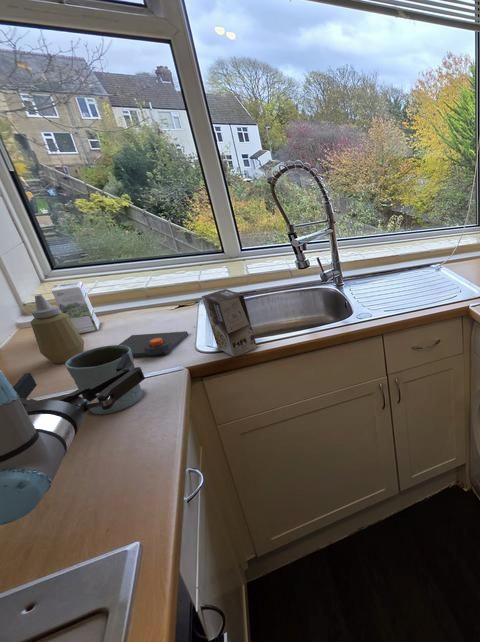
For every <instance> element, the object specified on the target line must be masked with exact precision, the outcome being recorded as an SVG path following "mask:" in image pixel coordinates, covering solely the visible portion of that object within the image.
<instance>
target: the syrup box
mask: <svg viewBox="0 0 480 642" xmlns="http://www.w3.org/2000/svg"><path fill="white" fill-rule="evenodd" d="M51 293H52V295H53V297H54V299H55V302H56V303H57V306H58V308H59V310H60V312H61V313H65V314H67V315H68V317H69V318H70V320H71V322H72V323H73V325H74V326H75V328H76V329H77V331H78V333H79V334H80V335H82V334H86V333H91V332H97V331H99V329H100V321H99V319H98V317H97V316H96V313H95V310H94V308H93V305H92V303H91V301H90V299H89V296H88V294H87V291H86V288H85V286H84V284H83V282H82V281H81V280H80V281H75V282H73V281H72V282H67V283H60V284H54V285H53V286H52V289H51Z"/></svg>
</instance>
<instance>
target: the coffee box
mask: <svg viewBox="0 0 480 642" xmlns="http://www.w3.org/2000/svg"><path fill="white" fill-rule="evenodd" d="M201 300H202V303H203V306H204V309H205V313H206V315H207V319H208V322H209V325H210V328H211V331H212V334H213V338H214V340H215V344H216V347H217V349H218V350H220V351H222V352H224V353H226V354H228V355H230V356H232V357H234V358H235V357H237V356H238V357H239V356H240V355H242V354H245V353H248V352H251V351H252V350H255V349H257V341H256V338H255V334H254V331H253V327H252V323H251V318H250V315H249V312H248V308H247V303H246V299H245V295H244V294H241V293H239V292H236V291H233V290H230V289H226V288H224V289H220V290H217V291H214V292H212V293H211V292H210V293H208V294H204V295H201Z"/></svg>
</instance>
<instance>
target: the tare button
mask: <svg viewBox="0 0 480 642" xmlns="http://www.w3.org/2000/svg"><path fill="white" fill-rule="evenodd" d="M150 344H151V347H156V346H160V345H162V344H164V343H163V340H162V338H155V339H152V340H150Z"/></svg>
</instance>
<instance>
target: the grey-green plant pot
mask: <svg viewBox="0 0 480 642" xmlns="http://www.w3.org/2000/svg"><path fill="white" fill-rule="evenodd" d="M127 353H128V354H129V356H130V359H131V361H132V363H133V364H134V365H135V363H134V358H133V356H132V352H131V349H130V348H129V347H128V346H124V345H119V344H111V345H104V346H99V347H95V348H91V349H88V350H85V351H84V352H82V353H79V354H77V355H75V356H73V357H72V358H70V359H69V360H68V361H67V362H65V363H64V366H65V368H66V370H67V371H68V373H69V375H70V377H71V378H72V379H73V381H74V384H75V385H76V387H77V388H78V389H80V388H87V387H89V386H91V385H93V384H95V383H97V382H99V381H101V380H103V379H105V378H106V377H108V376H110V375H112V374H114V373H116V372H117V371H116V368H117V366H118V364H119V362H120V360H121V358H122V356H123V354H127ZM140 384H141V383H139V384H138V385H136V386H135V387H134V388H132V389H131V390H130V391H128V392H127V393H126V394H124V395H123V396H122V397H121V398H119V399H118V400H117V401H115V403H114V404H113V406H112V407H111V408H109V409H107V410H103V409H102V407H101V406H100V407H95V408H91V409H90V410H89V411H90V412H91V413H93V414H96V415H105V414H106V415H107V414H112V413H115V412H119V411H122V410H124V409H127V408H130V407H131V406H134V404H136V403H137V402H139V401H140V400H141V399H142V397H143V392H142V391H143V390H142V387H141V385H140ZM78 389H77V390H78Z"/></svg>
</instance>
